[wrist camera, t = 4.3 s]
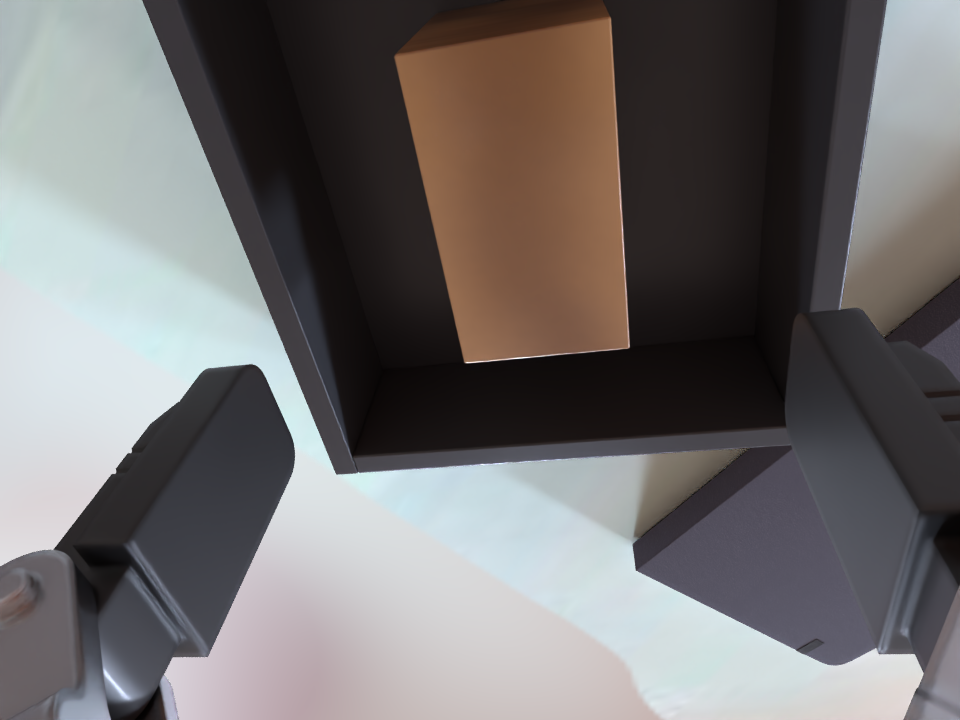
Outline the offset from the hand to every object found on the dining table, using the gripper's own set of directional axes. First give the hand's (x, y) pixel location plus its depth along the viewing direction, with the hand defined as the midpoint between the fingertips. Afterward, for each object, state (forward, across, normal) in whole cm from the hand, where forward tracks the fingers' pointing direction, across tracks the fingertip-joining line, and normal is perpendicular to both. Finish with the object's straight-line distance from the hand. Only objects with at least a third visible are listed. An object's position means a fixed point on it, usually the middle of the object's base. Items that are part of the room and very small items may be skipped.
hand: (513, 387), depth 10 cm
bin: (+13, 0, 0) cm, 13 cm away
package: (+13, 0, 0) cm, 13 cm away
